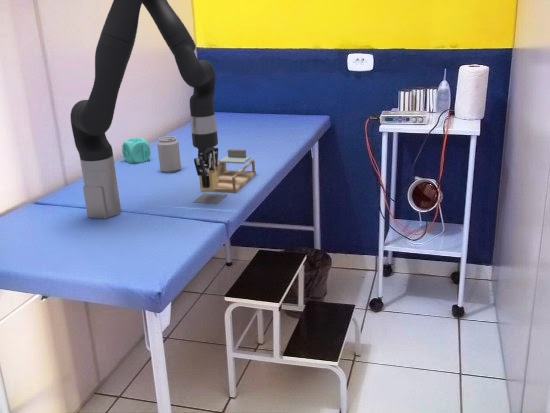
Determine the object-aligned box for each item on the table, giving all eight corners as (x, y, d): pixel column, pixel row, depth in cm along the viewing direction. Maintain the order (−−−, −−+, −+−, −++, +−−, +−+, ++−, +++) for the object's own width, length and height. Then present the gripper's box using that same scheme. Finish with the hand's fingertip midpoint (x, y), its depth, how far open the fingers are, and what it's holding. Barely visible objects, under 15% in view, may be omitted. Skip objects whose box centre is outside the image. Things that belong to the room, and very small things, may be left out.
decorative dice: (132, 164, 227) (130, 144, 225) (123, 160, 233) (120, 140, 230) (151, 160, 232) (149, 140, 229) (142, 156, 238) (139, 136, 235)
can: (177, 173, 214) (173, 140, 210) (157, 173, 215) (153, 140, 211) (184, 167, 221) (180, 135, 217) (164, 167, 222) (161, 135, 218)
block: (213, 190, 182) (211, 174, 180) (201, 189, 183) (199, 173, 181) (218, 185, 186) (216, 170, 184) (206, 185, 187) (204, 169, 185)
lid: (244, 163, 200) (243, 154, 199) (219, 162, 202) (218, 153, 201) (250, 158, 206) (250, 149, 205) (226, 157, 208) (225, 148, 207)
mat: (217, 205, 181) (217, 203, 180) (193, 203, 183) (192, 202, 183) (227, 196, 188) (227, 194, 188) (203, 195, 190) (203, 193, 190)
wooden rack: (236, 194, 190) (234, 177, 188) (200, 192, 193) (199, 175, 191) (256, 175, 207) (255, 159, 205) (223, 173, 211) (222, 158, 209)
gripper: (206, 136, 171) (212, 193, 177) (224, 124, 183) (228, 178, 189) (182, 135, 173) (188, 192, 179) (201, 124, 186) (206, 177, 192)
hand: (209, 184), depth 184 cm, fingers closed on block, 4 cm apart
